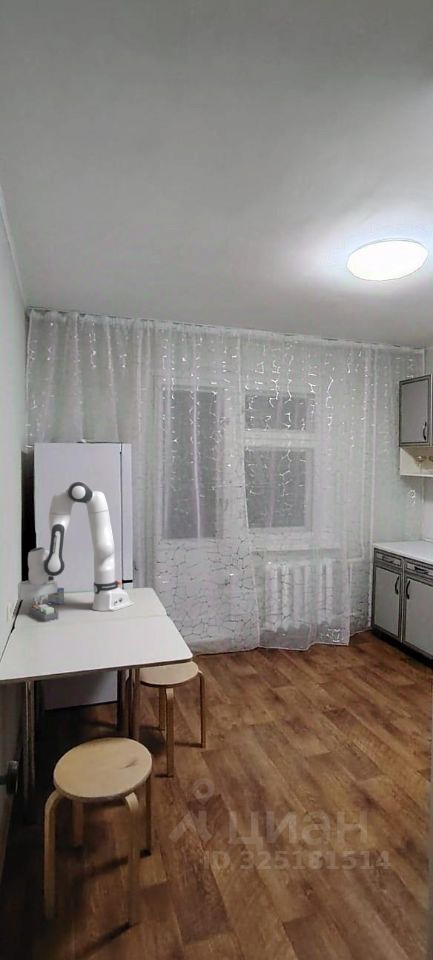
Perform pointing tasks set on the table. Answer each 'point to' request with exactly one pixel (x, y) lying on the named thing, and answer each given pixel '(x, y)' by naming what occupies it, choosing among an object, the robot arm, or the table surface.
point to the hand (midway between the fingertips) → (38, 604)
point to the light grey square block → (40, 607)
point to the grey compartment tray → (43, 616)
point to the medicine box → (56, 597)
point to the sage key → (48, 610)
